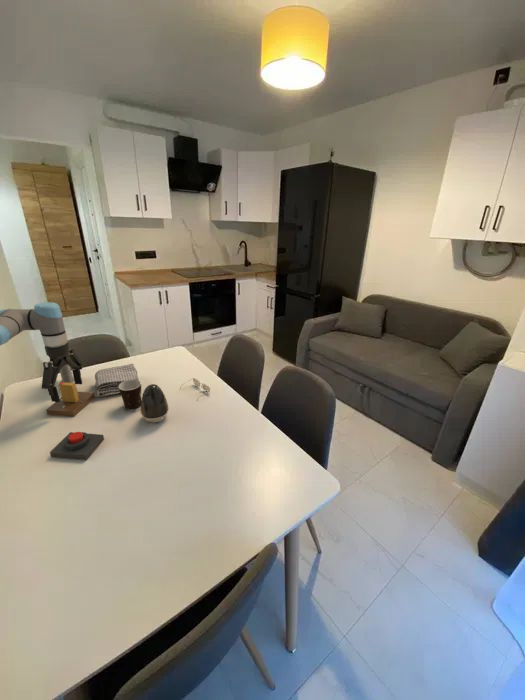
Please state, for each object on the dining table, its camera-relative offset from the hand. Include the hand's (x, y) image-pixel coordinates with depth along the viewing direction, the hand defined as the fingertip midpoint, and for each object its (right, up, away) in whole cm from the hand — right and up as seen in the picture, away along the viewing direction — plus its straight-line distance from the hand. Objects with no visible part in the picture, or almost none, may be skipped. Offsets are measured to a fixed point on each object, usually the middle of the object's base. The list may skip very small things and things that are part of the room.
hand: (68, 392), depth 118 cm
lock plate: (0, -6, +3) cm, 7 cm away
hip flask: (-11, 0, +17) cm, 20 cm away
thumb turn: (0, -4, +2) cm, 4 cm away
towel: (+12, 0, +18) cm, 22 cm away
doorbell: (+16, -16, -19) cm, 30 cm away
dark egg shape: (+37, -10, -2) cm, 38 cm away
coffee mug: (+24, -7, +4) cm, 25 cm away
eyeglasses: (+48, -3, +17) cm, 51 cm away
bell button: (+17, -13, -21) cm, 30 cm away
